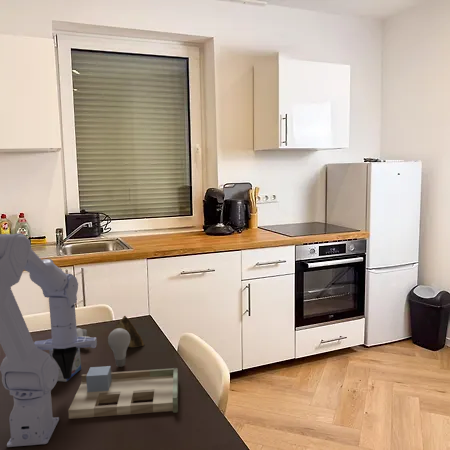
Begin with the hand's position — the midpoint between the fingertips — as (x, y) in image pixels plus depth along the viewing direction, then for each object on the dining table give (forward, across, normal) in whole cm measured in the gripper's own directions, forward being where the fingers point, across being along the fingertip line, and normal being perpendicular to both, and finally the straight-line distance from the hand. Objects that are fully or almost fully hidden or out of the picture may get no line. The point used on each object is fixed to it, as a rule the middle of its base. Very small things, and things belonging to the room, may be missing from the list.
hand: (67, 377), depth 111 cm
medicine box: (+5, +4, -12) cm, 14 cm away
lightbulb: (+5, -10, -15) cm, 19 cm away
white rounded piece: (+6, +7, -35) cm, 36 cm away
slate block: (+3, -8, 0) cm, 8 cm away
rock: (+6, -10, -33) cm, 35 cm away
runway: (+5, -14, +4) cm, 16 cm away
